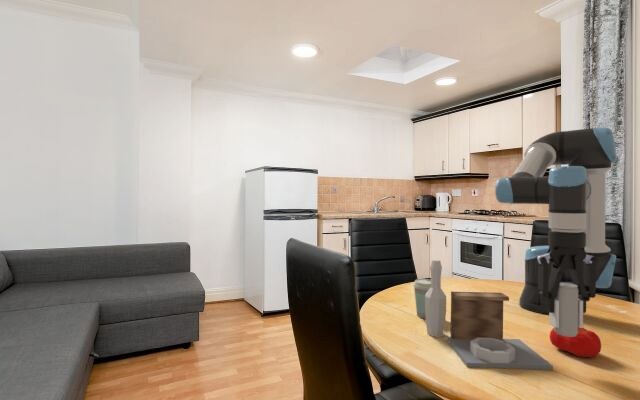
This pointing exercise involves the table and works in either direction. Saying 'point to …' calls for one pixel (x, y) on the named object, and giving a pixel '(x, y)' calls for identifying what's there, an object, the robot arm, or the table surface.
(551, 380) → the table surface
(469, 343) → the socket board
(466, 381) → the table surface
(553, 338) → the tomato
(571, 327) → the beverage can
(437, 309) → the low poly bottle
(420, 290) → the coffee cup
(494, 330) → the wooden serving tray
